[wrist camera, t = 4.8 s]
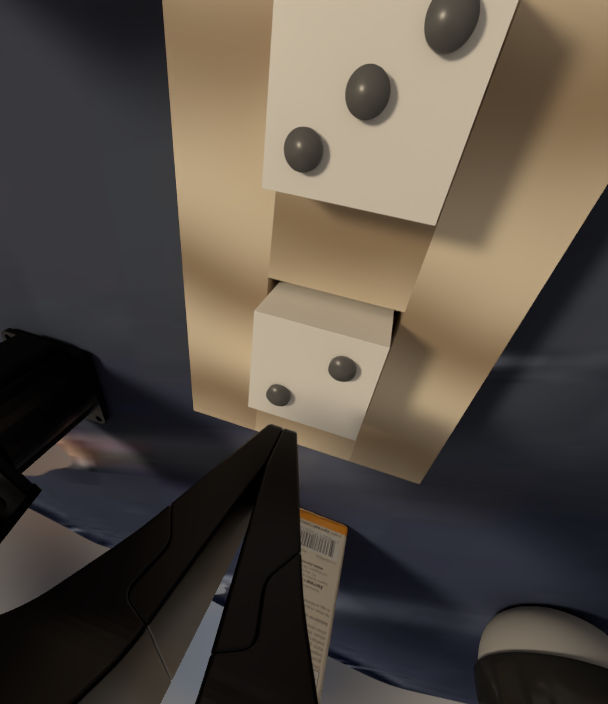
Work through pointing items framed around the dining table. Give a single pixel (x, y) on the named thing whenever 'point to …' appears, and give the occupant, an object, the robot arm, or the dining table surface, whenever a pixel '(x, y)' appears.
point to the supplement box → (320, 582)
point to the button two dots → (317, 357)
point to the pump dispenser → (541, 659)
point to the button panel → (383, 221)
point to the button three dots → (377, 98)
